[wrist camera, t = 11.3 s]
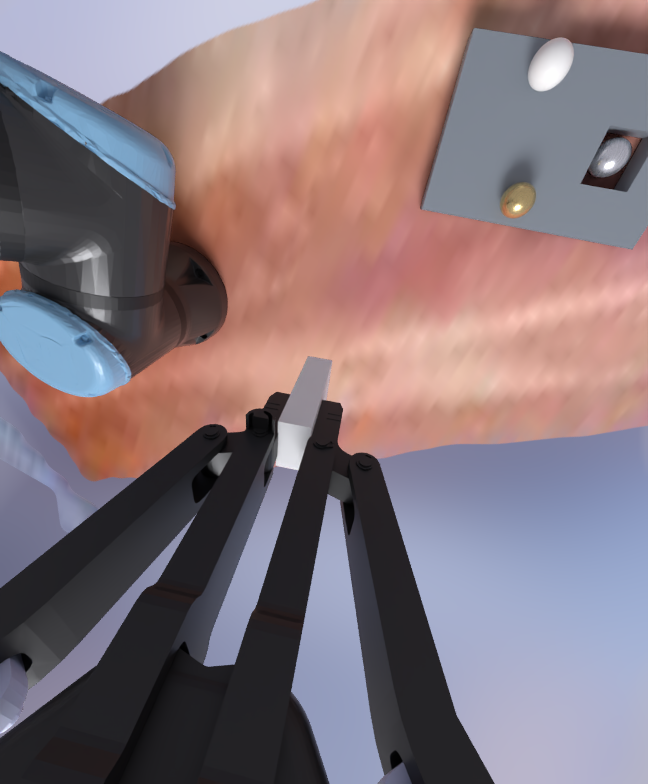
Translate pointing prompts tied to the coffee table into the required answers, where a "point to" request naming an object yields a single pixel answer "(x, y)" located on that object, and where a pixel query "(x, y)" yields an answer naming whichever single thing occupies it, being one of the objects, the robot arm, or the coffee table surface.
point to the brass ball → (518, 200)
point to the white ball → (550, 64)
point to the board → (543, 140)
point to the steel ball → (610, 157)
